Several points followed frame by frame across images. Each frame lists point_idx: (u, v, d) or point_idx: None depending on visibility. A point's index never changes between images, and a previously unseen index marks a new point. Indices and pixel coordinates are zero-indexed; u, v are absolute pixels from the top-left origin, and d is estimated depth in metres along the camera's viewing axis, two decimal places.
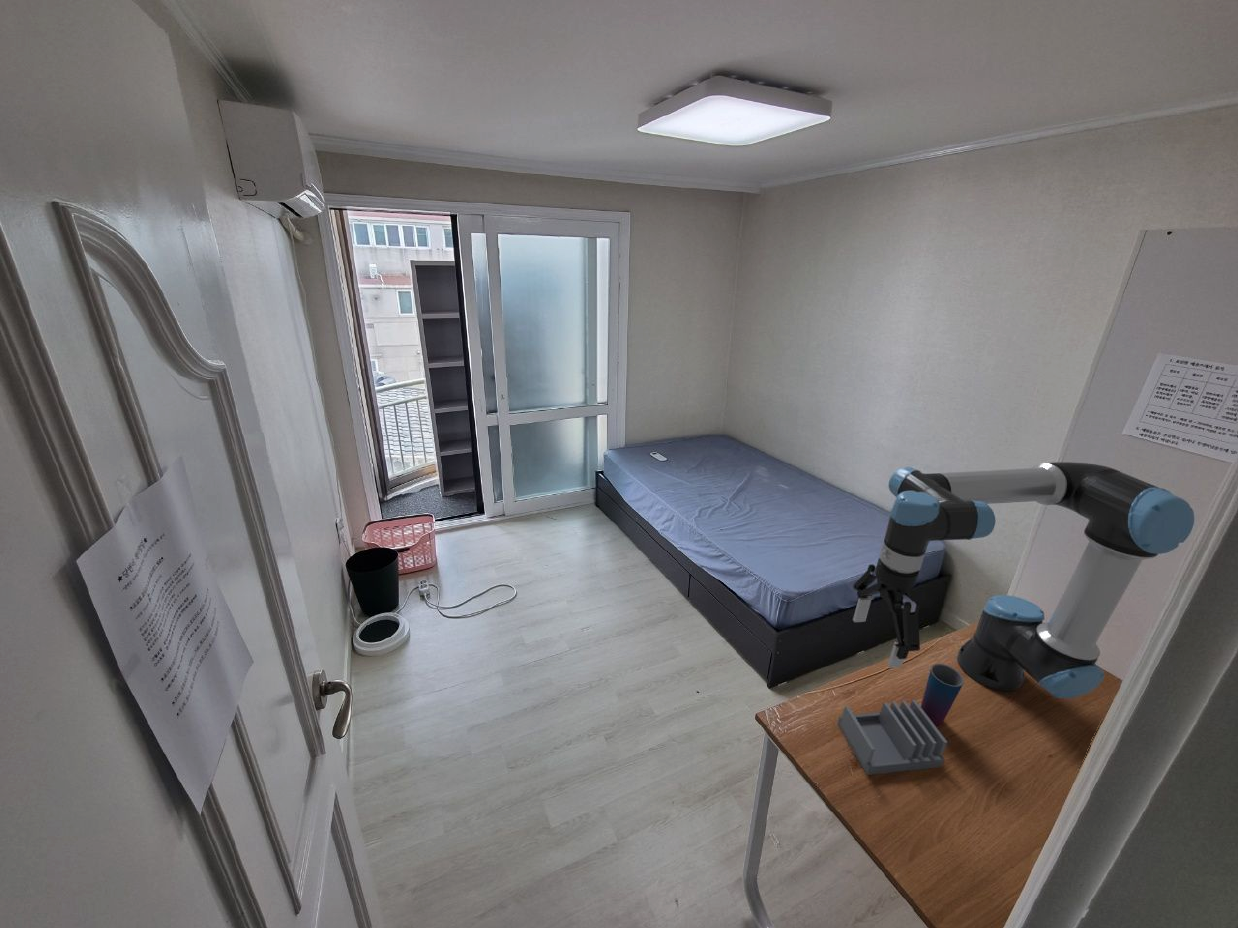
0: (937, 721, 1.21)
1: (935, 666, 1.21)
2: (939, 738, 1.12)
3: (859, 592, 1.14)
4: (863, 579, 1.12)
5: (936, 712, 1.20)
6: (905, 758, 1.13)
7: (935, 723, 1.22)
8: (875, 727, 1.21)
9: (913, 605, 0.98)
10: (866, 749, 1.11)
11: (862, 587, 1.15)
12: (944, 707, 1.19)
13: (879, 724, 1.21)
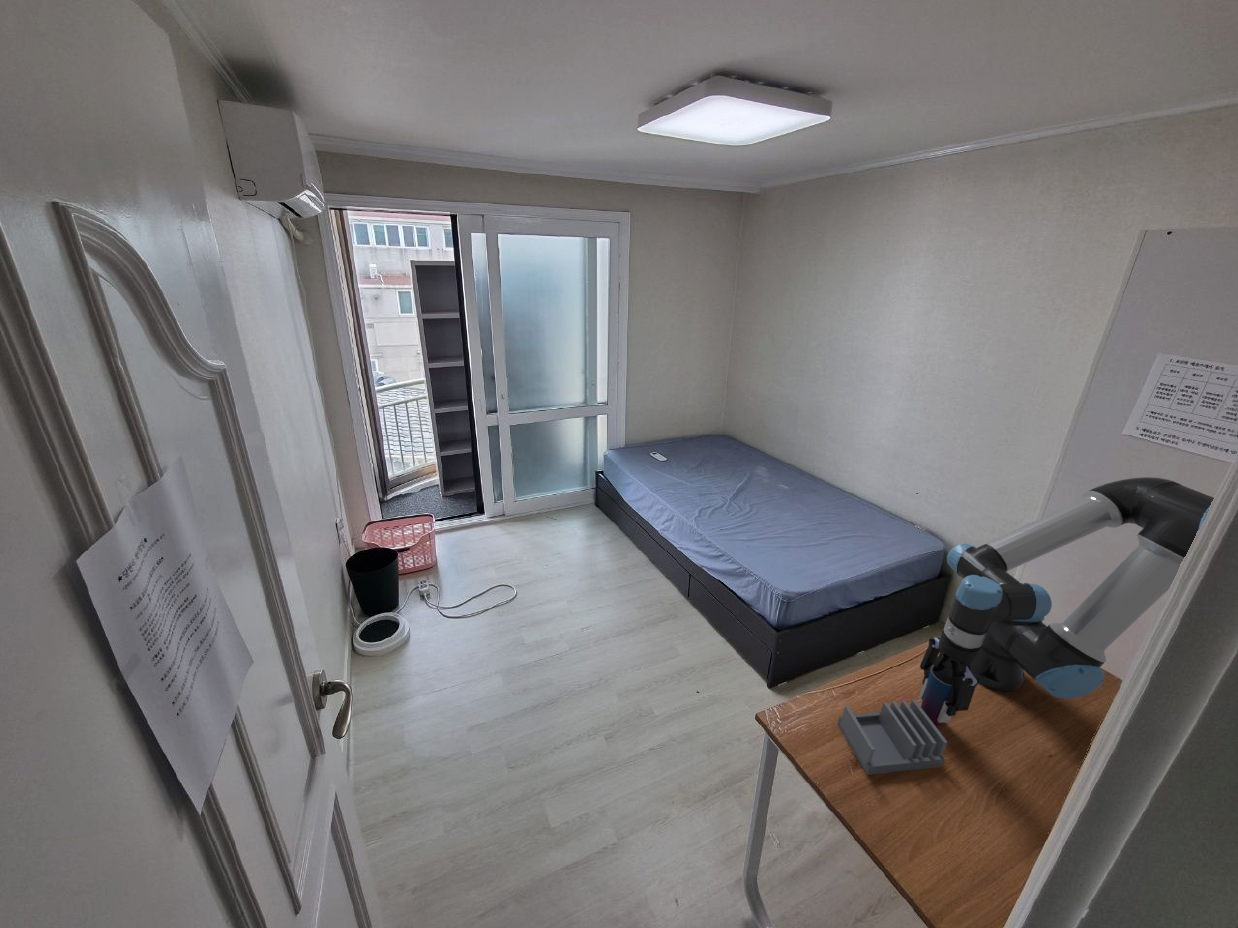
0: None
1: None
2: (939, 738, 1.12)
3: (926, 672, 1.24)
4: (927, 655, 1.23)
5: (936, 712, 1.20)
6: (905, 758, 1.13)
7: (935, 723, 1.22)
8: (875, 727, 1.21)
9: (975, 682, 1.10)
10: (866, 749, 1.11)
11: (928, 666, 1.25)
12: None
13: (879, 724, 1.21)
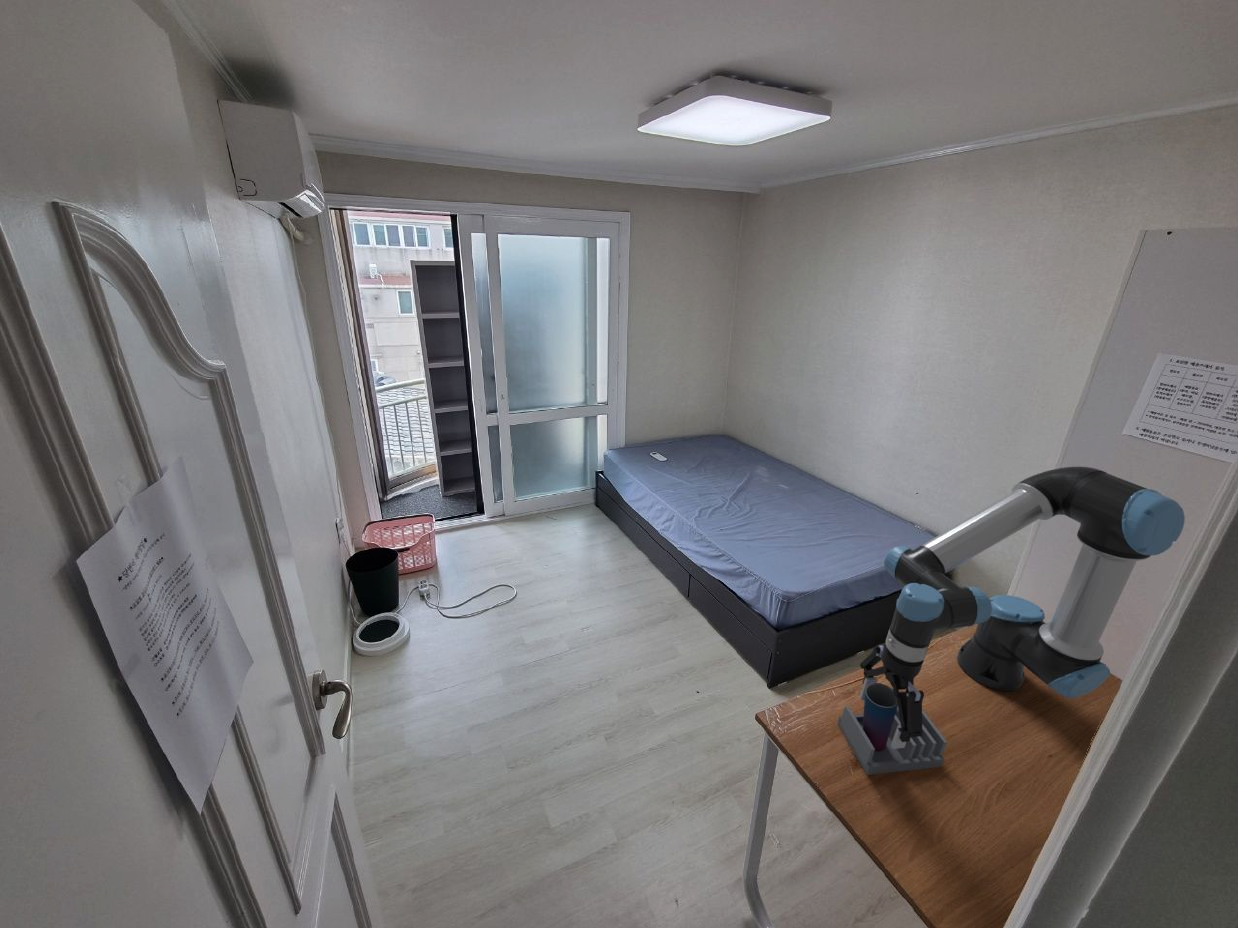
0: (879, 744, 1.14)
1: (870, 686, 1.14)
2: (939, 738, 1.12)
3: (865, 672, 1.17)
4: (869, 659, 1.15)
5: (876, 735, 1.13)
6: (905, 758, 1.13)
7: (877, 747, 1.14)
8: None
9: (918, 695, 1.01)
10: (866, 749, 1.11)
11: (868, 666, 1.18)
12: (882, 730, 1.11)
13: None
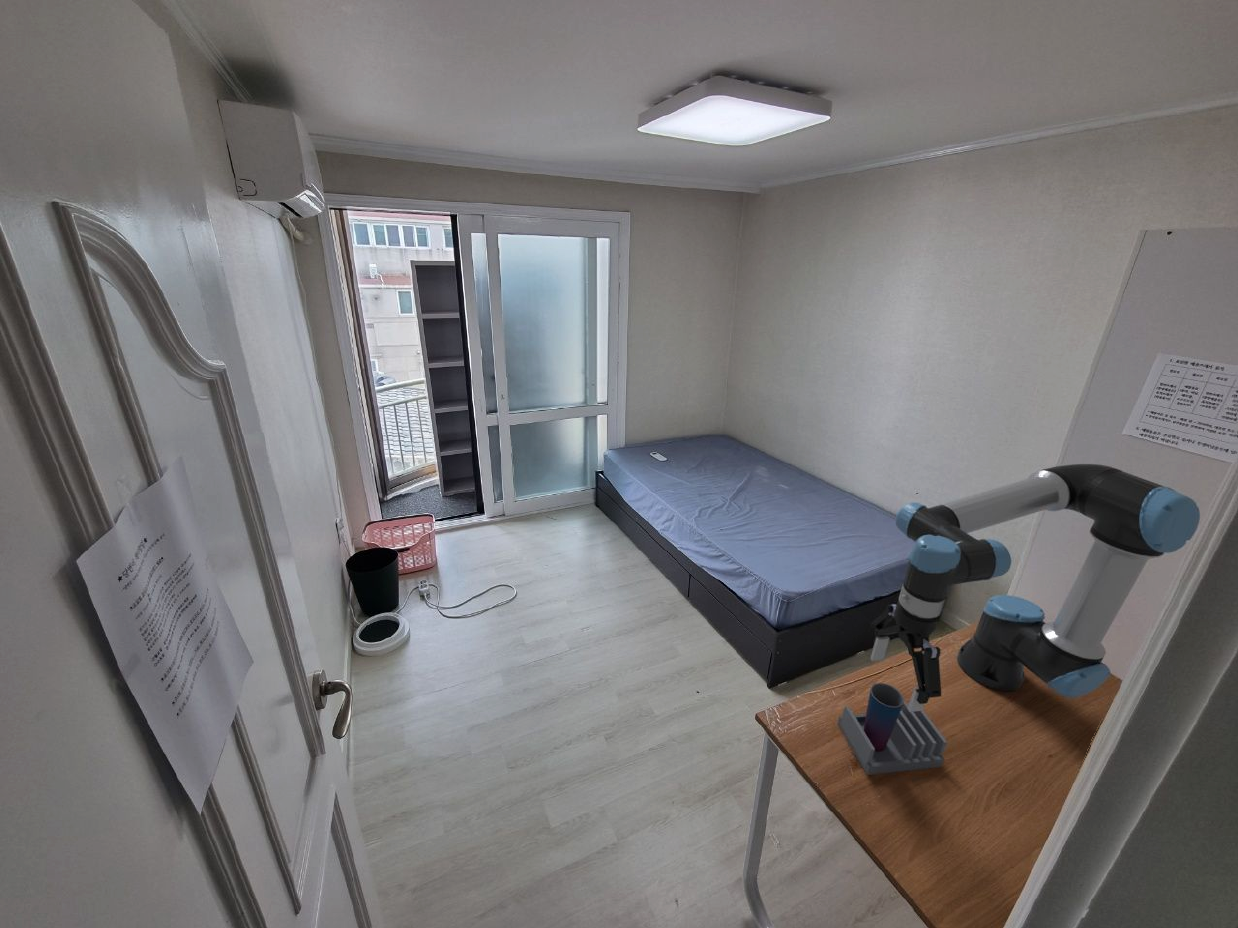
0: (880, 745, 1.14)
1: (875, 685, 1.14)
2: (939, 738, 1.12)
3: (877, 631, 1.13)
4: (881, 619, 1.11)
5: (877, 735, 1.13)
6: (905, 758, 1.13)
7: (878, 747, 1.14)
8: None
9: (934, 651, 0.96)
10: (866, 749, 1.11)
11: (880, 626, 1.14)
12: (885, 730, 1.12)
13: None
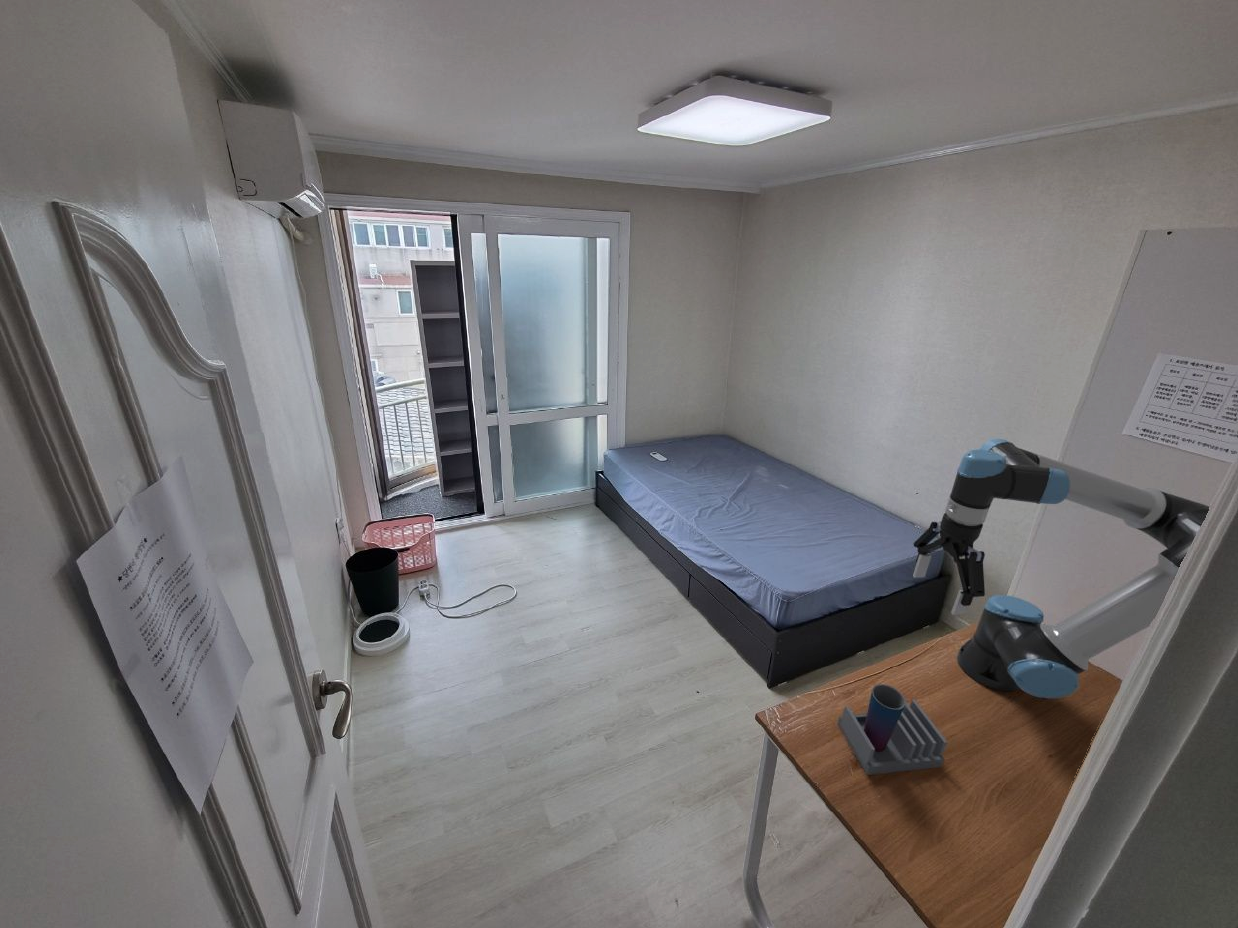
0: (880, 745, 1.14)
1: (877, 687, 1.14)
2: (939, 738, 1.12)
3: (920, 549, 1.23)
4: (925, 536, 1.21)
5: (878, 736, 1.13)
6: (905, 758, 1.13)
7: (878, 748, 1.14)
8: None
9: (979, 554, 1.06)
10: (866, 749, 1.11)
11: (922, 545, 1.24)
12: (886, 731, 1.11)
13: None
